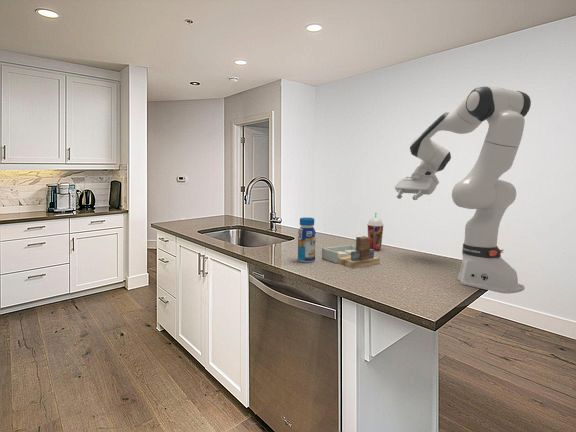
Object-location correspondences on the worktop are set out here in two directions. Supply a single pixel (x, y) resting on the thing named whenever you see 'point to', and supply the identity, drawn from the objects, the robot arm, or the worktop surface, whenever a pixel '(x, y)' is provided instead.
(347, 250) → the tile
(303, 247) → the beverage bottle
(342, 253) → the tile
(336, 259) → the tray
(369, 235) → the smoothie
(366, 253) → the stacked block structure
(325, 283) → the worktop surface
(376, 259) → the board
